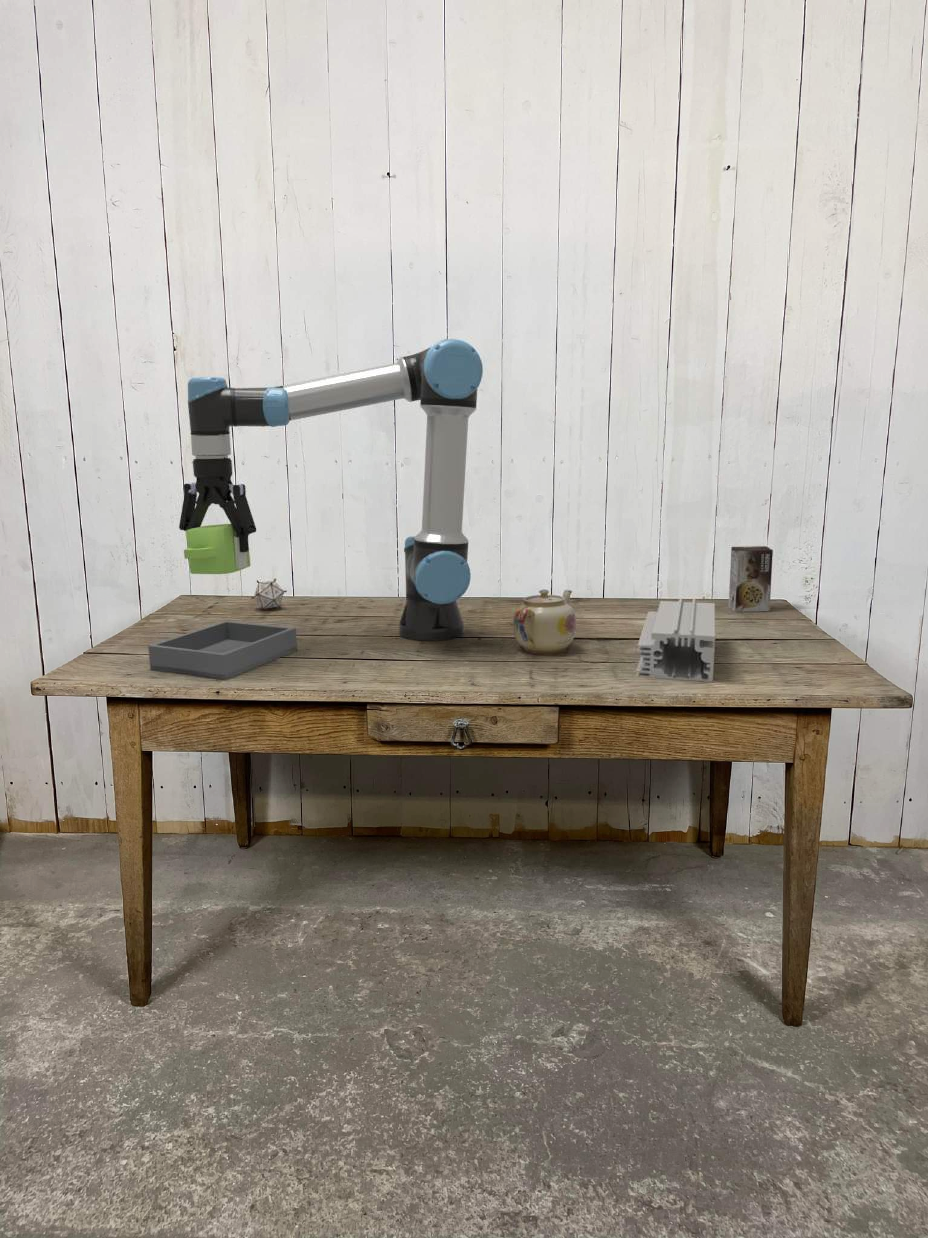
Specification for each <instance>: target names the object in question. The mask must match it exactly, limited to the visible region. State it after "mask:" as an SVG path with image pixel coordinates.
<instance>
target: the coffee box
mask: <svg viewBox="0 0 928 1238" xmlns="http://www.w3.org/2000/svg"><path fill="white" fill-rule="evenodd" d="M730 551H731V552H730V571H729V572H730V573H729V591H728V592H729V593H728V594H729V595H728V608H729V609H731V610H732V611H733V612H735V613H741V612H742V613H743V612H744V613H745V612H748V613H749V612H754V613H755V612H770V611H771V592H772V589H771V588H772V576H773V575H772V573H773V572H772V569H773V556H774V555H773V553H774V550H773V549H772V548H771V547H769V546H766V545H765V546H763V545H762V546H760V545H759V546H758V545H757V546H731V550H730Z"/></svg>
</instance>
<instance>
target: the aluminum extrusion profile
mask: <svg viewBox="0 0 928 1238" xmlns="http://www.w3.org/2000/svg"><path fill="white" fill-rule="evenodd" d="M685 638H686V639H685ZM715 642H716V603H714V602H713V603H712V602H697V600H696V598H692V601H683V598H682V597H680V598H679V599H678V600H677V601H669V600H667V601H666V600H660V602H659V605H658V609H657V611H656V610H655V611H647V616H646V618H645V621H644V625H643V628H642V631H641V634H640V637H639V641H638V643H637V647H638V648H637V653H640V655H639V663H638V665H637V669H636V673H637V674H636V677H639V678H640V677H641V678H655V679H672V680H684V681H685V680H686V681H700V682H713V681H714V667H715Z"/></svg>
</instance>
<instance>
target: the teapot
mask: <svg viewBox="0 0 928 1238" xmlns="http://www.w3.org/2000/svg"><path fill="white" fill-rule="evenodd" d="M538 592H539V594H536V595H529V596H526V597H524V598H523V603H521V604H520V605H519V606H518V607H517V608H516V609H515V611H514V614H513V618H512V619H513V621H512V622H513V623H512V626H513V635H514V638H515V641H516V642H517V643H518V644H519V645H521V646H522V648H523V650H524V651H525V652H526V653H528V654H533V655H541V656H542V655H543V656H546V655H549V656H551V655H558V654H562V653H564V652H566V651H567V648H568V647H569V645H570V644H571V643H572V642H573V640H574V639H575V635H576V631H577V621H576V620H577V619H576V614H575V611H574V608H573V607H572V606H570V598H571V595H572V593H573V590H570V589H565V590H564V591H563V593H562V596H561V595H556V594H554V595H553V594H549V593H550V590H548V589H541V590H539V591H538Z"/></svg>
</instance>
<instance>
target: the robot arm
mask: <svg viewBox="0 0 928 1238" xmlns="http://www.w3.org/2000/svg"><path fill="white" fill-rule="evenodd" d="M483 370H484V368H483V363H482V358H481V357H480V354H479V352H477V350H476V349H475V348H474V347H473V345H471V344H469V343H468V342H466V341H464V340H460V339H456V338H445V339H442V340H439V341H436V342H435V343H434V344H433V345H431V346H430V347H428V348H427V349H424V350H421V351H420V352H417V353H414V354H411V355H406V356H405V355H404V356H401V357H399V359H398V360H397V362H395V363H390V364H385V365H379V366H374V367H371V368H365V369H358V370H355V371H349V372H344V373H340V374H339V373H338V374H333V375H329V376H325V377H319V378H314V379H308V380H303V381H298V382H293V383H287V384H283V385H277V386H271V387H270V386H268V387H228V385H227V380H226V379H225V378H223V377H218V376H215V377H210V376H209V377H208V376H203V377H202V376H198V377H196V376H195V377H192V378H190V379H189V380H188V382H187V405H188V417H189V426H190V427H189V428H190V440H191V442H190V445H191V454H192V456H193V457H195V458H194V459H193V460H192V469H193V476H194V477H195V478H196V481H195V482H189V483H184V484H183V495H184V496H183V501H182V507H181V513H180V518H179V524H178V528H179V530H180V531H184V532H186V530H189V529H193V528H197V527H202V524H203V522H204V519H205V517H206V514H207V511H208V509H209V508H210V506H211V505H213V504H214V505H218V506H219V507H220V508H221V509H223V511H224V513H225V515H226V517H227V519H228V521H229V524H231V525H232V526H233V528H234V530H235V532H236V534H237V535H235V536H236V537H234V548H235V562H236V569H242V568H245V569H247V568H248V567H247V553H246V552H248V550H249V551H250V547H249V535H251V534H254V533H256V532H257V527H256V524H255V521H254V517H253V514H252V512H251V511H252V510H251V508H250V505H249V502H248V499H247V494H246V492H247V491H246V485H245V483H243V484H242V483H240V484H233V483H232V476H233V464H232V459H231V458H230V457H229V456H230V455H232V452H231V451H232V449H231V448H232V447H231V436H230V435H231V434H230V427H237V428H238V427H262V428H263V427H271V428H274V427H284V426H287V425H288V424H289V423H290V422H291V421H294V420H295V421H296V420H300V419H306V418H309V417H315V416H321V415H326V414H330V413H331V414H332V413H336V412H341V411H342V412H343V411H347V410H351V409H356V408H362V407H366V406H370V405H371V406H373V405H376V404H381V403H386V402H391V401H392V402H393V401H396V400H401V399H403V400H405V401H407V402H409V403H411V402H418V401H420V404H419V405H420V408H421V409H422V410H423V412H424V413H425V414H426V429H425V430H426V433H425V434H426V435H425V455H424V473H423V474H424V475H423V476H424V477H423V495H422V498H423V499H422V500H423V501H422V516H421V517H422V519H421V530H420V531H419V533H417V534H416V535H415V536H408V537H406V539H405V540H404V548H403V552H404V564H405V566H404V567H405V569H404V570H405V604H404V608H403V611H402V615H401V618H400V621H399V626H398V628H399V635H400V636H401V637H403V638H405V639H409V640H415V641H441V640H443V641H444V640H450V639H454V638H459V637H460V636H462V635H464V633H465V623H464V620H463V616H462V614H461V611H460V608H459V605H458V602H457V600H459V599H461V598H462V596H464V594H465V593H466V592H467V591H468V589H469V586H470V584H471V569H470V566H469V563H468V556H469V555H468V554H469V539H468V538H467V537H466V536H465V534H464V533H463V518H464V517H463V516H464V501H465V497H464V496H465V485H466V484H465V483H466V480H465V479H466V467H467V466H466V465H467V449H468V446H467V445H468V432H469V431H468V429H469V418H470V416H471V415H472V414H473V413H474V412H475V411H476V410H477V402H478V388H479V387H480V384H481V382H482V378H483V373H484V372H483ZM246 567H247V568H246ZM242 570H243V569H242Z"/></svg>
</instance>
